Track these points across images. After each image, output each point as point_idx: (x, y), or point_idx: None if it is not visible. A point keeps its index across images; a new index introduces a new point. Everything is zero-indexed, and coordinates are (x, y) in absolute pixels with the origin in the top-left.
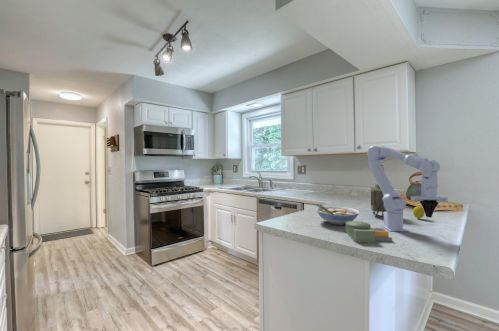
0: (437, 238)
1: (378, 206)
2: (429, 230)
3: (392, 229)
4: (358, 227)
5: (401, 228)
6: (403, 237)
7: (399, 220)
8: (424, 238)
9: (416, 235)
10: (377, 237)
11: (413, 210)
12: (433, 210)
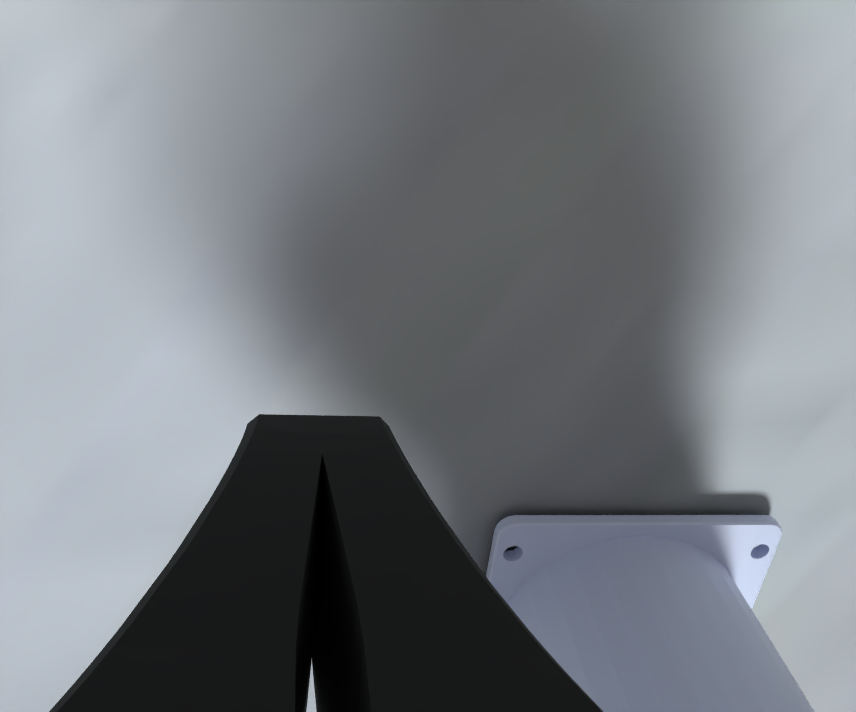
0: (140, 149)
1: None
2: (2, 632)
3: (717, 558)
4: None
5: (582, 572)
6: (825, 182)
7: (695, 691)
8: (440, 136)
9: (466, 326)
10: None
11: None
12: (154, 631)
